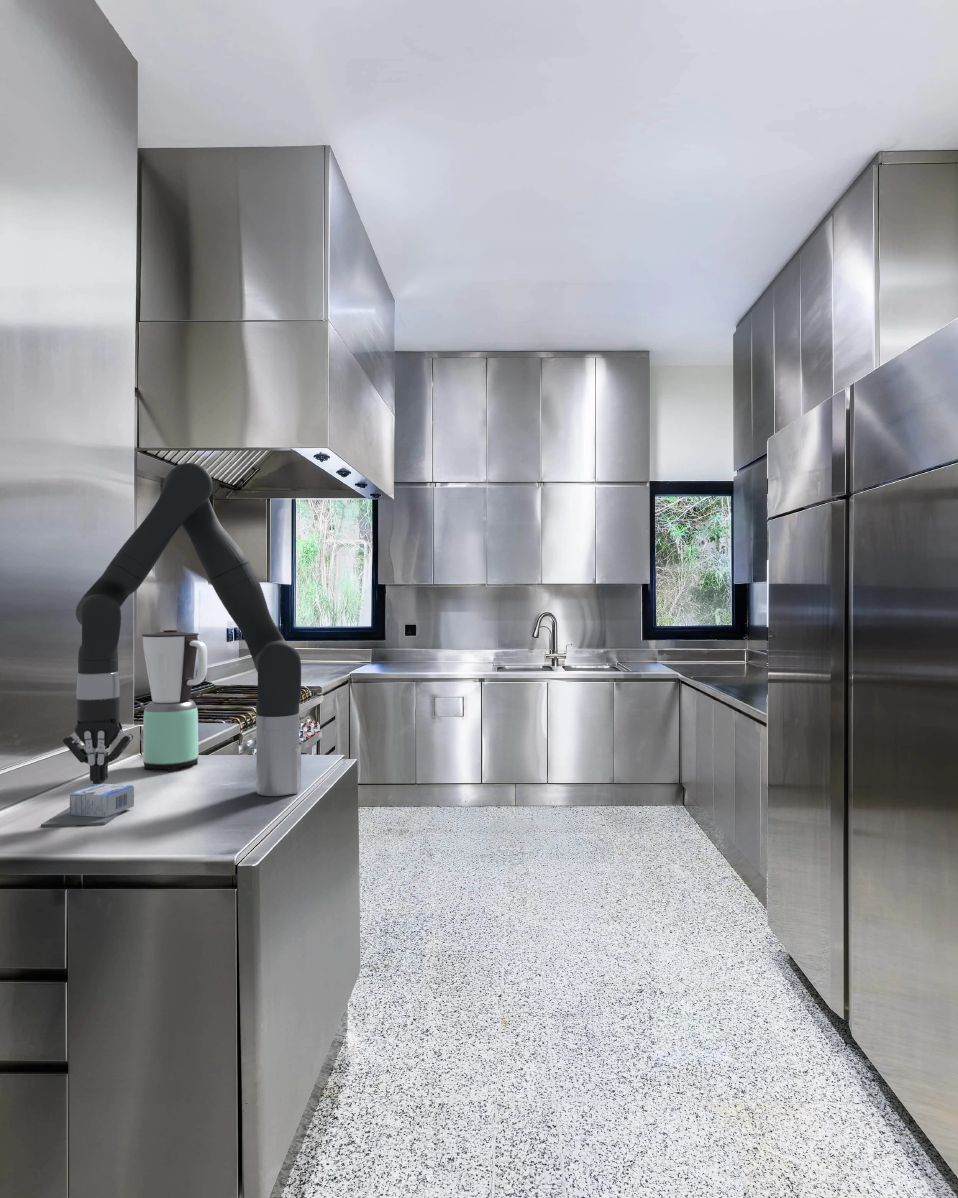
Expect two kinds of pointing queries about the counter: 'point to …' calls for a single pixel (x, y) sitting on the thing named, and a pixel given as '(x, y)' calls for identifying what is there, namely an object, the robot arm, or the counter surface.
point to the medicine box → (101, 800)
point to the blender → (172, 699)
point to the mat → (76, 819)
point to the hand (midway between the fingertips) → (98, 783)
